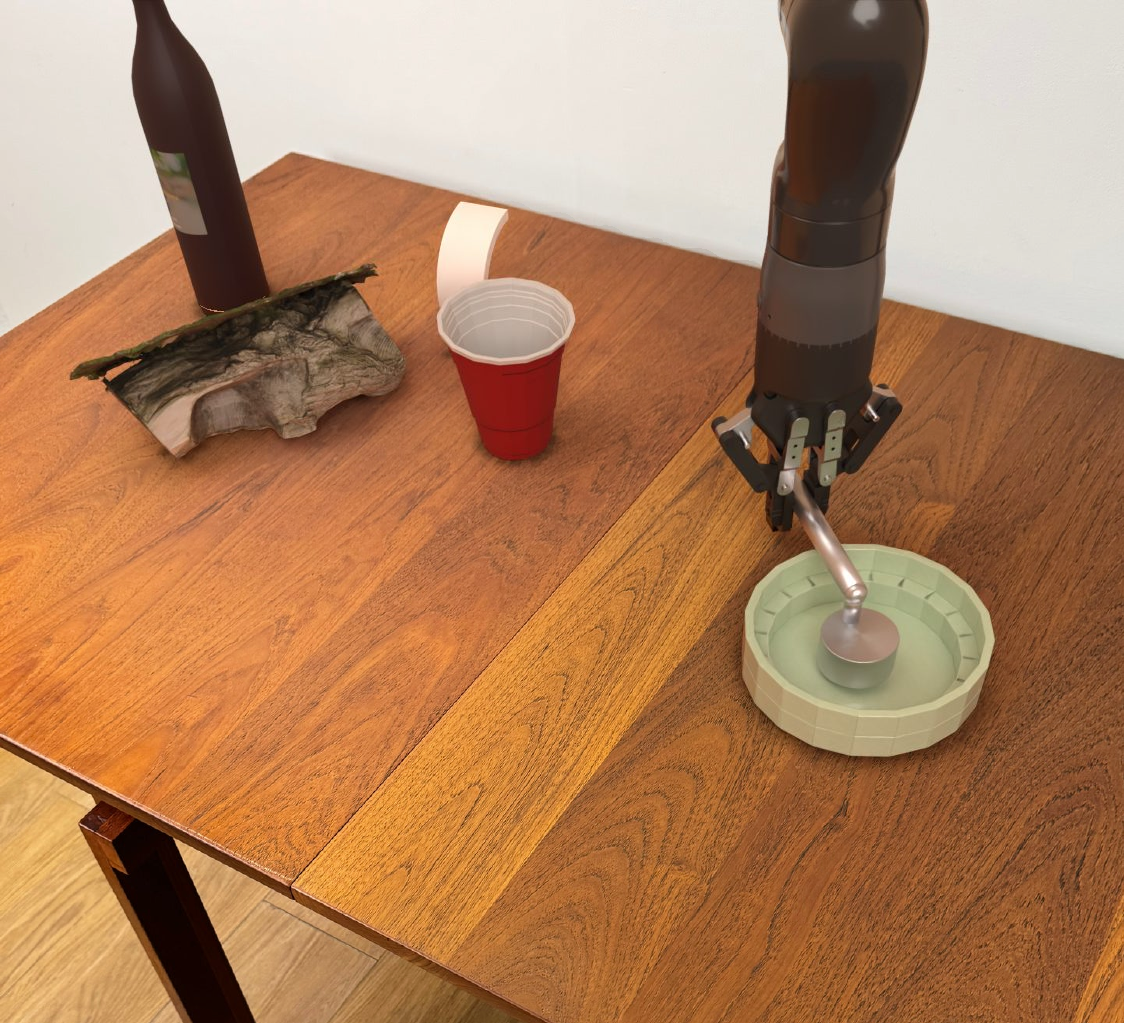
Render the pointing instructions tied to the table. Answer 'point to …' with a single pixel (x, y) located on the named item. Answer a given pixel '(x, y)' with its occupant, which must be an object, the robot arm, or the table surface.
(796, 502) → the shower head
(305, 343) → the mossy driftwood chunk
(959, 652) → the bowl
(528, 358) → the plastic cup
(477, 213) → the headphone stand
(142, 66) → the wine bottle
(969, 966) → the table surface
